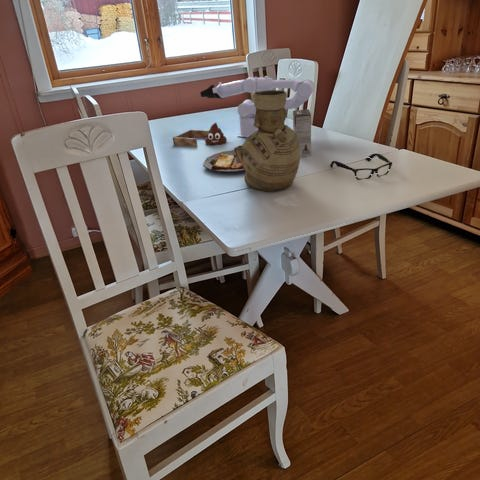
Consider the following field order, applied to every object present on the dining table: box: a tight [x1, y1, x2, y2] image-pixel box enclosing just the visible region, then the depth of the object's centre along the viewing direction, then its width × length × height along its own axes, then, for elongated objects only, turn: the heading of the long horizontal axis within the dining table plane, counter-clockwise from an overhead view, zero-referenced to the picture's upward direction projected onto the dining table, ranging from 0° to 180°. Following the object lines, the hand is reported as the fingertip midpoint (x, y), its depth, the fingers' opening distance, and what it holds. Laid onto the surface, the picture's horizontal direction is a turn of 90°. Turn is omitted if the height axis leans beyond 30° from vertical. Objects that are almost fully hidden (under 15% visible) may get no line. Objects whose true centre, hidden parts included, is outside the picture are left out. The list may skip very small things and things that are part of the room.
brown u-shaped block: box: [172, 129, 209, 148], centre depth 197 cm, size 13×15×4 cm
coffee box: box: [292, 109, 312, 157], centre depth 164 cm, size 9×6×16 cm
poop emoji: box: [204, 122, 228, 146], centre depth 190 cm, size 10×8×9 cm
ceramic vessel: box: [233, 89, 301, 193], centre depth 133 cm, size 19×21×30 cm
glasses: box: [329, 153, 393, 180], centre depth 145 cm, size 17×18×5 cm
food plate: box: [202, 149, 245, 173], centre depth 162 cm, size 25×23×4 cm
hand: (204, 95), depth 195 cm, fingers open, 7 cm apart
